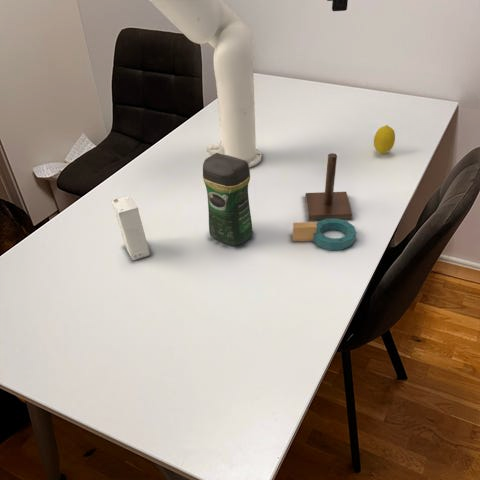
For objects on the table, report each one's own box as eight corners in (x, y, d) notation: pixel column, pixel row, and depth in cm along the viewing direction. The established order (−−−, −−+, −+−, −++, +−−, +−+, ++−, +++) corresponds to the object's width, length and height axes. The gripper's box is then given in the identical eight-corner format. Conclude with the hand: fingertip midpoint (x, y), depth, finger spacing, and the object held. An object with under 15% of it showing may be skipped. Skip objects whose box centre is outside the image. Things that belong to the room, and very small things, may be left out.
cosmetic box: (151, 255, 104) (140, 207, 95) (131, 261, 103) (118, 213, 94) (142, 240, 108) (131, 193, 99) (123, 246, 107) (110, 199, 98)
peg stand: (308, 220, 110) (311, 167, 101) (305, 198, 117) (308, 146, 108) (351, 219, 110) (358, 165, 100) (345, 196, 117) (352, 144, 107)
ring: (294, 251, 102) (294, 237, 100) (291, 227, 109) (292, 213, 106) (357, 249, 102) (359, 235, 99) (351, 225, 108) (353, 211, 105)
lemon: (390, 149, 133) (395, 121, 127) (393, 158, 129) (398, 129, 124) (370, 149, 134) (375, 121, 128) (372, 158, 130) (377, 130, 124)
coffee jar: (258, 233, 108) (256, 156, 94) (237, 251, 103) (232, 173, 90) (225, 220, 112) (218, 145, 99) (204, 237, 108) (194, 160, 94)
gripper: (320, -98, 100) (315, -3, 112) (330, -91, 88) (324, 16, 100) (355, -101, 100) (347, -5, 112) (371, -93, 88) (359, 14, 100)
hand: (336, 5), depth 106 cm, fingers open, 9 cm apart
